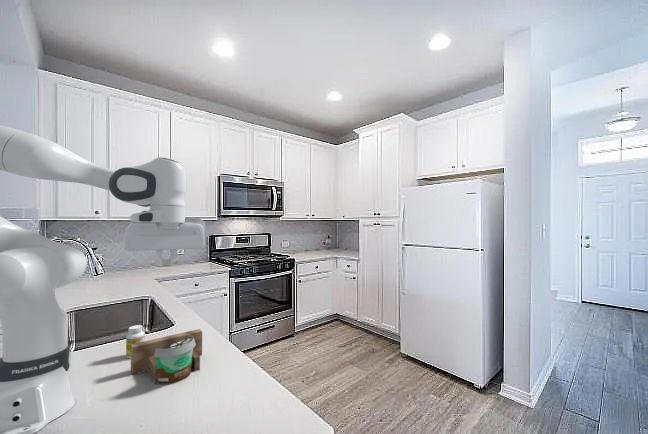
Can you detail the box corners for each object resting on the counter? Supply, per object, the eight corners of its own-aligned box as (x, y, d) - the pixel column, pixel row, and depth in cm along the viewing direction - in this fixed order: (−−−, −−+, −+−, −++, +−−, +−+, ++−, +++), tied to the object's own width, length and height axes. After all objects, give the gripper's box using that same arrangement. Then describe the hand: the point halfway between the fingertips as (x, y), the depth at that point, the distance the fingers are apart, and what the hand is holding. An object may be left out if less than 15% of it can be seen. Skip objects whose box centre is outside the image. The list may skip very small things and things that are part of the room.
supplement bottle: (148, 352, 102) (148, 324, 103) (137, 359, 97) (137, 329, 97) (133, 351, 103) (133, 324, 103) (122, 358, 97) (122, 329, 98)
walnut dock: (138, 389, 79) (138, 358, 79) (130, 371, 89) (130, 344, 89) (213, 365, 92) (213, 339, 92) (199, 352, 102) (199, 328, 102)
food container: (170, 390, 78) (170, 352, 79) (153, 386, 80) (153, 349, 81) (204, 369, 90) (204, 336, 90) (189, 366, 92) (189, 333, 92)
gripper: (202, 218, 92) (200, 262, 92) (123, 215, 79) (121, 267, 78) (209, 217, 87) (207, 264, 87) (126, 214, 74) (124, 270, 73)
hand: (165, 266), depth 82 cm, fingers closed
